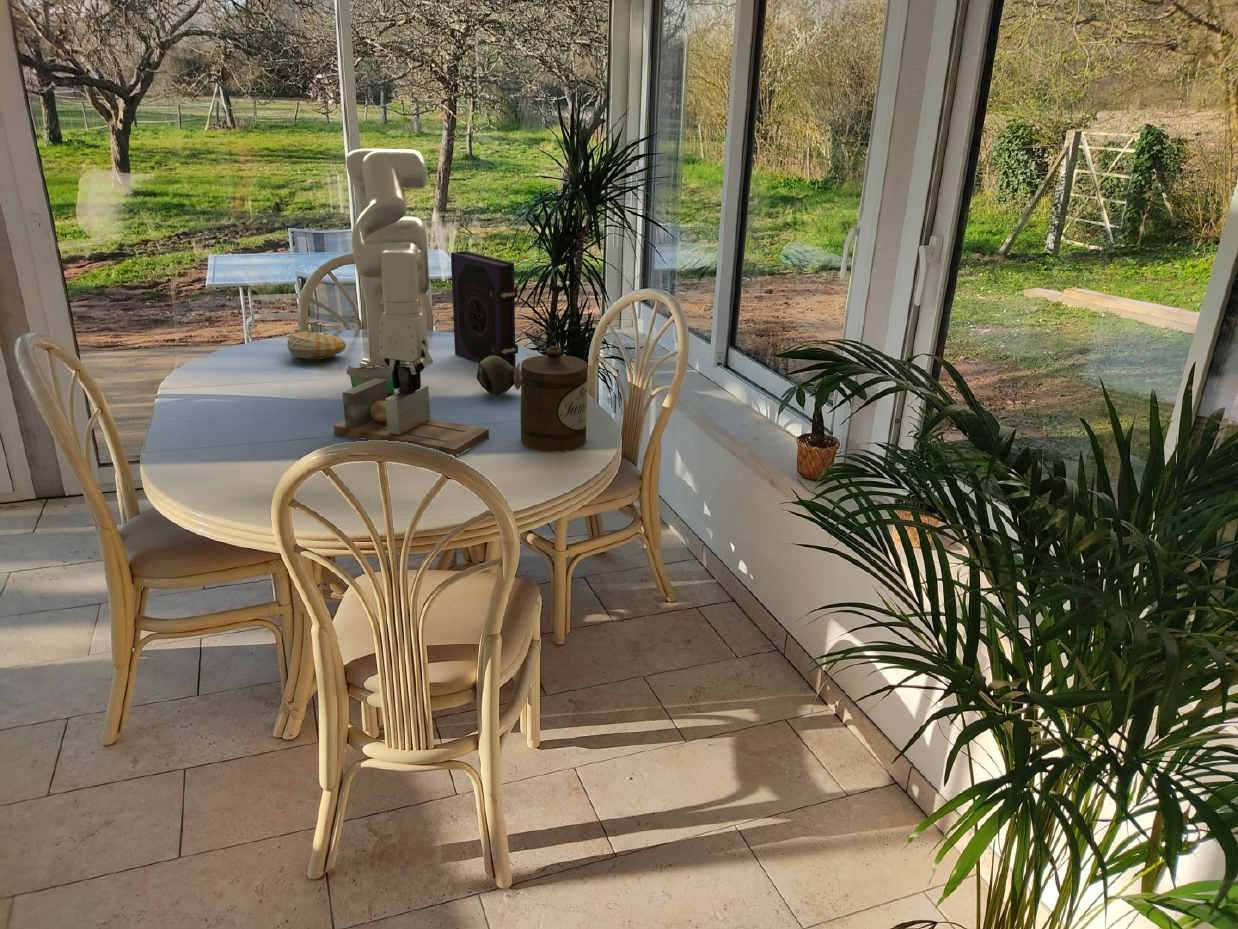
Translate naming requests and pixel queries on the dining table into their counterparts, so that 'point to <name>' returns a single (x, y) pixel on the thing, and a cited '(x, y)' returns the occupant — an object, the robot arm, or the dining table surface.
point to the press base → (426, 434)
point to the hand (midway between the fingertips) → (407, 387)
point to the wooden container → (553, 402)
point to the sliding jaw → (407, 404)
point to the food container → (371, 375)
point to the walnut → (379, 411)
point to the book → (483, 307)
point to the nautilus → (314, 345)
